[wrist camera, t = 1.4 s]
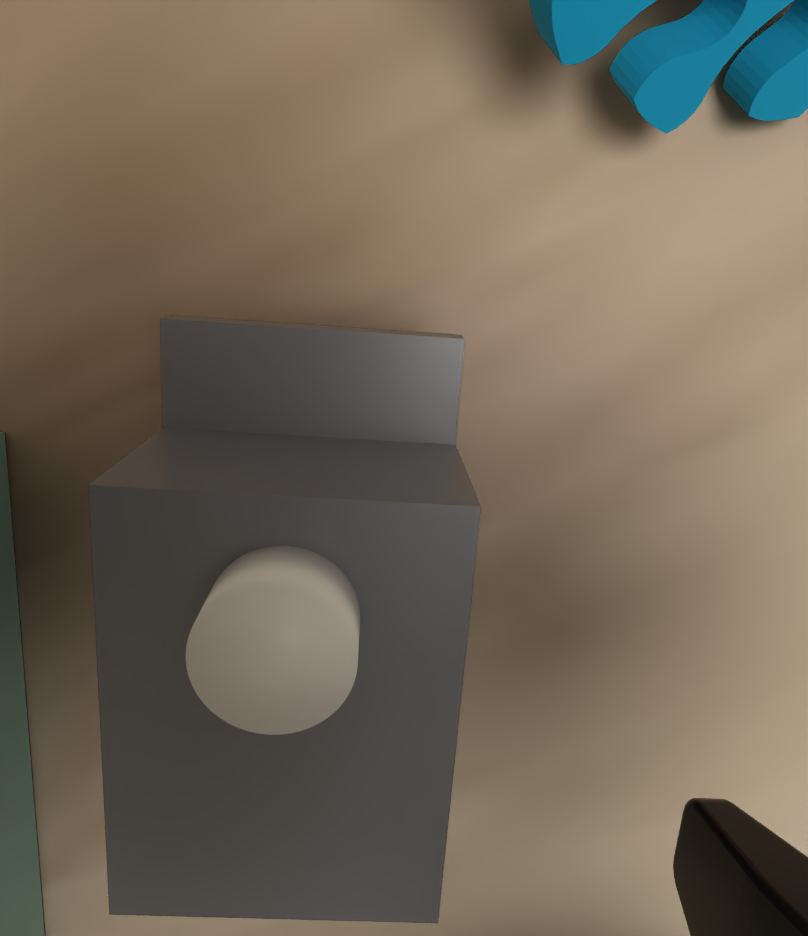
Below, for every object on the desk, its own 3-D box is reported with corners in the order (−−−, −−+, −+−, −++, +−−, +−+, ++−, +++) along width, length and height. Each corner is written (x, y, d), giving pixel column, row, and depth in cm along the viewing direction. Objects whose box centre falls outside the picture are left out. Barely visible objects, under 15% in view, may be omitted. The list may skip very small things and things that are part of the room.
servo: (411, 744, 16) (433, 1088, 10) (209, 736, 16) (85, 1083, 9) (446, 321, 14) (511, 381, 7) (208, 305, 14) (38, 350, 7)
